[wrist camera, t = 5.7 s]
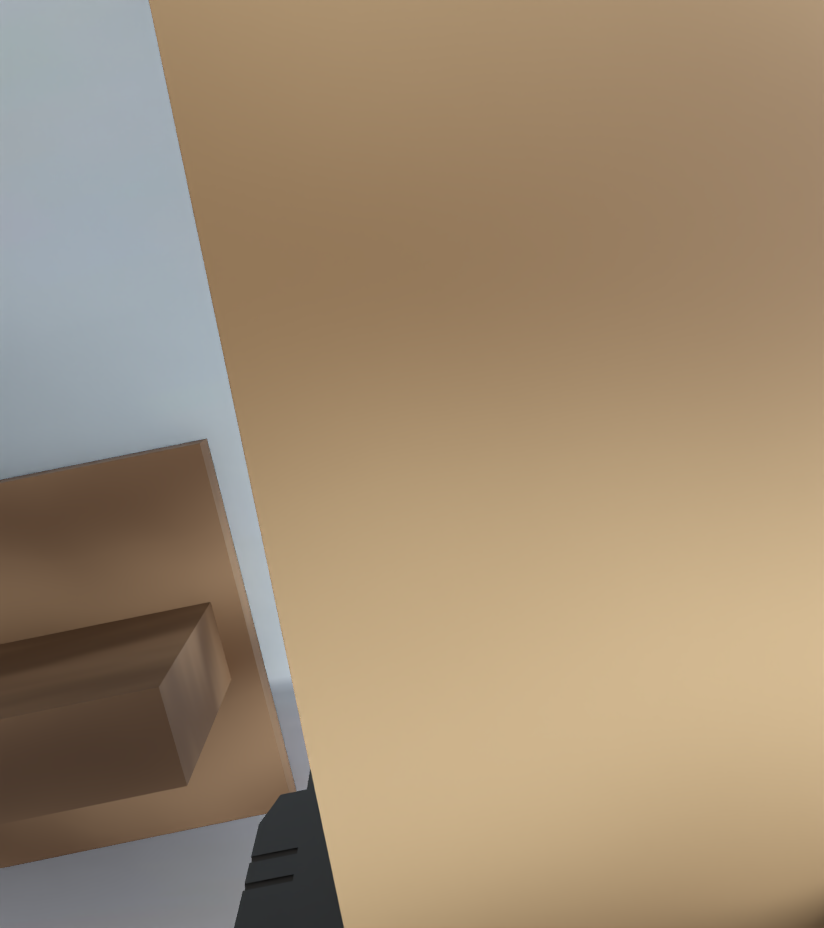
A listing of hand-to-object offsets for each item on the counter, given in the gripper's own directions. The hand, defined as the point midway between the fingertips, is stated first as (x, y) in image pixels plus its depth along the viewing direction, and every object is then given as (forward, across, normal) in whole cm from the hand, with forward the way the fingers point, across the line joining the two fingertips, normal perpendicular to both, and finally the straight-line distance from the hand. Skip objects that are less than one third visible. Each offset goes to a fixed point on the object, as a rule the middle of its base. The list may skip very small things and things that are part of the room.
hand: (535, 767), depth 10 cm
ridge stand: (+16, +14, +4) cm, 21 cm away
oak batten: (+1, 0, 0) cm, 1 cm away
